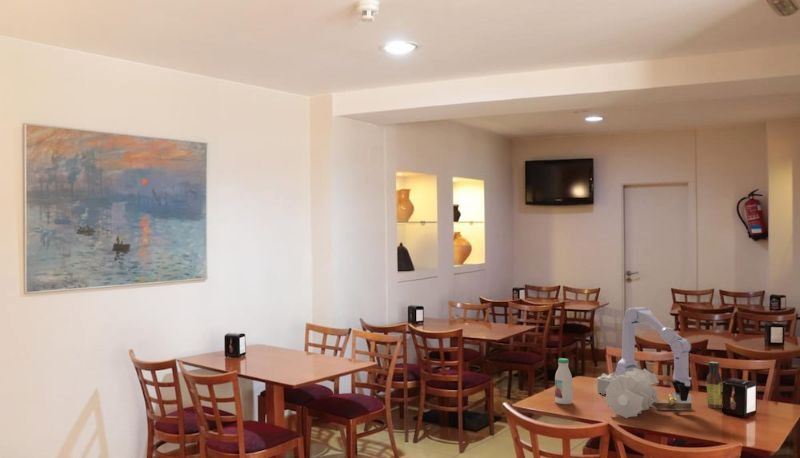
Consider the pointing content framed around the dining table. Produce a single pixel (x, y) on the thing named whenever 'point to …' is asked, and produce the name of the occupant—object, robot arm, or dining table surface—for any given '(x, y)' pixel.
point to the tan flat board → (666, 406)
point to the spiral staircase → (631, 392)
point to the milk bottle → (563, 383)
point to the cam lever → (670, 400)
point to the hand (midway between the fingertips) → (681, 399)
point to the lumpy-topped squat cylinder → (604, 382)
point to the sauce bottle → (714, 386)
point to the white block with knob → (678, 400)
